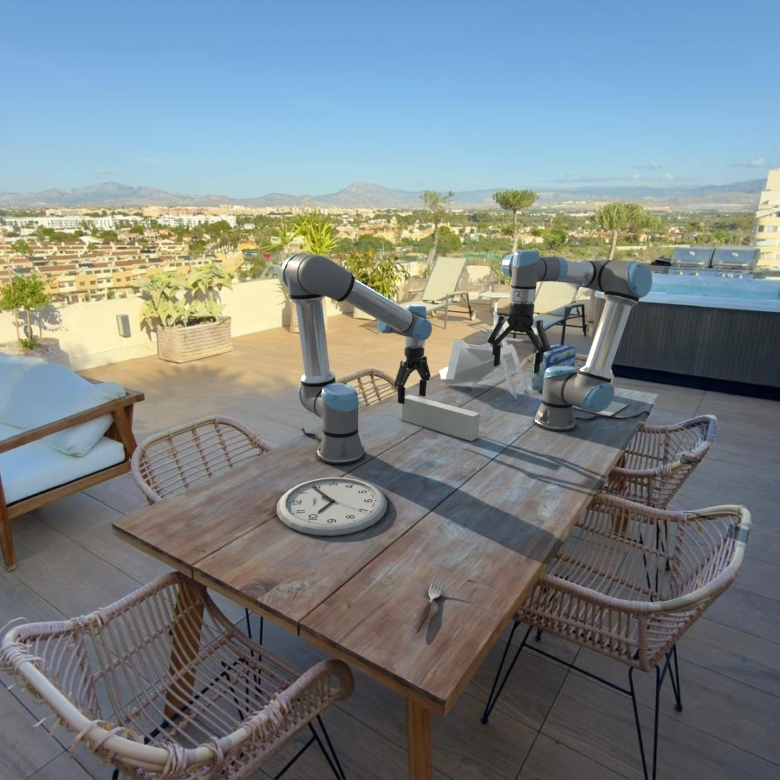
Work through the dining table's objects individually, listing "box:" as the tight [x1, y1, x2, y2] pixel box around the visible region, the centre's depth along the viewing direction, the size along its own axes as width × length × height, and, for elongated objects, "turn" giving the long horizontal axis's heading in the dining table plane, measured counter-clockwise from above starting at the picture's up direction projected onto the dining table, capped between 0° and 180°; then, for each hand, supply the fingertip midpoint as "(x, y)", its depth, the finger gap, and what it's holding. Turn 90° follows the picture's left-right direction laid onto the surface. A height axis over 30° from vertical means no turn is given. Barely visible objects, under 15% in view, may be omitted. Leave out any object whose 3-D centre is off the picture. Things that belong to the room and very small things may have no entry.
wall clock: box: [276, 476, 388, 537], centre depth 142 cm, size 30×2×30 cm
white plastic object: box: [438, 310, 531, 400], centre depth 245 cm, size 37×45×31 cm
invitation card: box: [573, 400, 629, 416], centre depth 226 cm, size 21×1×15 cm
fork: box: [416, 574, 445, 635], centre depth 104 cm, size 3×16×2 cm, turn 160°
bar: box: [401, 394, 481, 442], centre depth 197 cm, size 32×5×10 cm, turn 50°
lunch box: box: [530, 344, 577, 392], centre depth 247 cm, size 26×11×21 cm, turn 134°
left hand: (411, 399), depth 203 cm, fingers open, 13 cm apart
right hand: (515, 368), depth 167 cm, fingers open, 13 cm apart
